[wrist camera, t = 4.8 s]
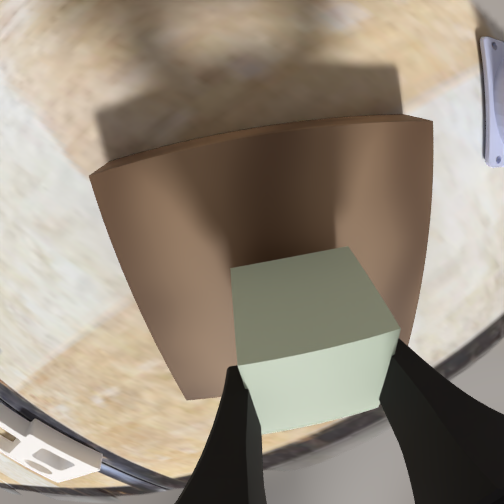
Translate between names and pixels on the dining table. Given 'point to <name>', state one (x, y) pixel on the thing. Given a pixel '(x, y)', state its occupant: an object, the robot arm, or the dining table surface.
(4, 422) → the holder
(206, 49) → the dining table surface
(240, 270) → the sage block
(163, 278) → the walnut base
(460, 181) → the dining table surface
